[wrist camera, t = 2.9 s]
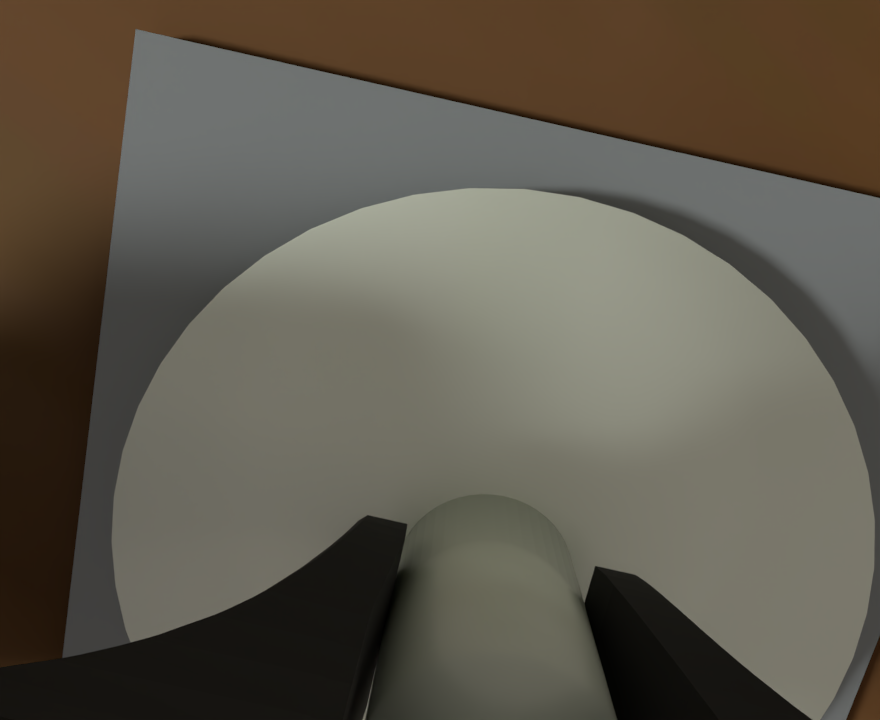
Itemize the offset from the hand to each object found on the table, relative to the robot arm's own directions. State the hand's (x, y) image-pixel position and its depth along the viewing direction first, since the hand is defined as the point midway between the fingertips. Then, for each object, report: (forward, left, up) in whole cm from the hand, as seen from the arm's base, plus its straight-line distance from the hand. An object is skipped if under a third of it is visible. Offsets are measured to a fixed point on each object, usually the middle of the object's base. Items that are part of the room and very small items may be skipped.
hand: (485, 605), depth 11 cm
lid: (0, 0, -2) cm, 2 cm away
